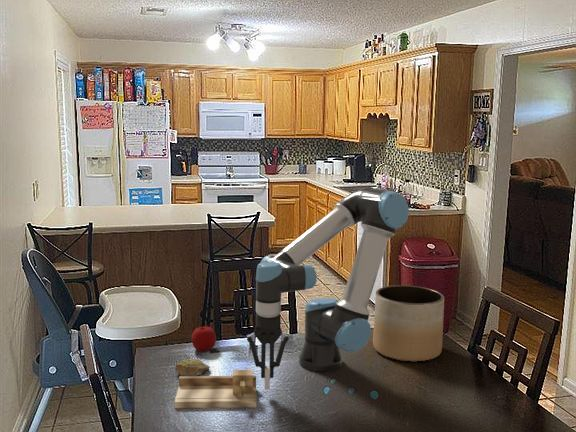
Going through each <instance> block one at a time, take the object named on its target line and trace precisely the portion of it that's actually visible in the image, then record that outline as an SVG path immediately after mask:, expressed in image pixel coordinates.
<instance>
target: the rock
mask: <svg viewBox="0 0 576 432" xmlns="http://www.w3.org/2000/svg"><path fill="white" fill-rule="evenodd" d="M210 368H211V367H210V365H208V364H207V363H204V361H202V360H200V359H197V358H195V359H187V358H186V359H182V360H181V361H179V362H178V363H176V364H175V370H176V372H177V373H178V374H179V376H202V374H203V373H204V372H207V371H208V370H209V369H210Z"/></svg>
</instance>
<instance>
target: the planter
mask: <svg viewBox="0 0 576 432" xmlns="http://www.w3.org/2000/svg"><path fill="white" fill-rule="evenodd" d="M374 299H375V300H374V301H375V302H374V319H373V334H372V347H374V349H375V350H376V351H377V352H378V353H379V354H381V355H383V356H384V357H386V358H388V357H389V358H388V359H391V358H392V359H391V360H394V359H396V361H399V360H400V361H399V362H406V361H411V362H410V363H418V362H417V361H423V362H427V361H426V360H428V361H431V360H433V359H436V358H437V357H439V356H440V355H441V353H442V350H443V349H442V348H443V335H444V334H443V333H444V331H443V330H444V313H445V312H444V311H445V296H444V295H443V294H442V293H441V292H439V291H437V290H435V289H431V288H429V287H425V286H424V287H423V286H416V285H409V284H408V285H406V284H400V285H399V284H398V285H397V284H395V285H387V286H382V287H380V288H378V289H377V290H376V291H375V298H374ZM430 359H431V360H430Z"/></svg>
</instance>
